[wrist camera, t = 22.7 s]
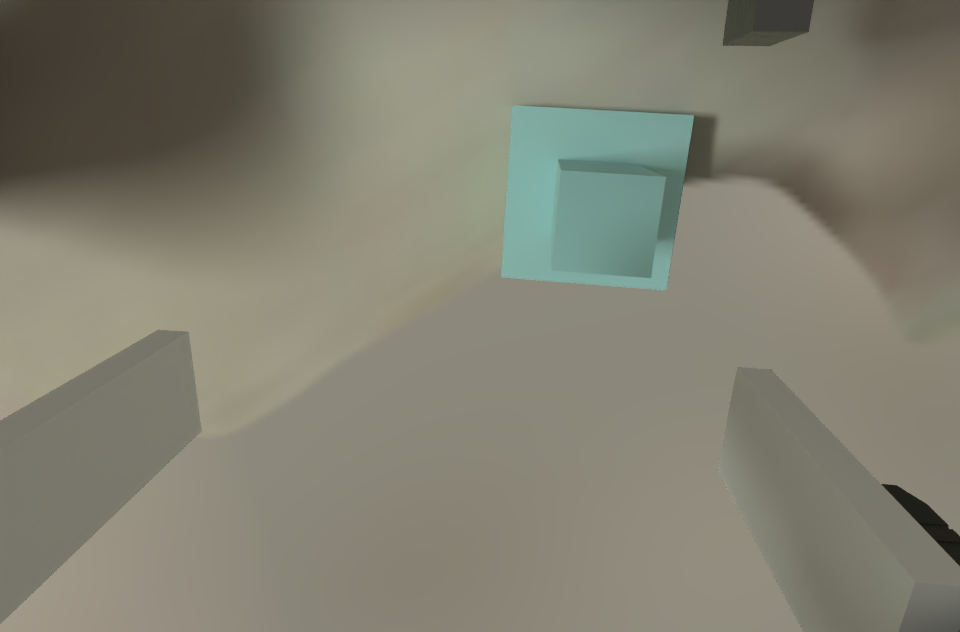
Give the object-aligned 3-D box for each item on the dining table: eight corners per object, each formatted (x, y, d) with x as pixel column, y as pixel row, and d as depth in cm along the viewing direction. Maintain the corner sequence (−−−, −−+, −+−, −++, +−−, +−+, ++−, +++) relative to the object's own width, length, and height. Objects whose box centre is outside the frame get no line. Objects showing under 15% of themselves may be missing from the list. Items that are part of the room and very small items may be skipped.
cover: (502, 270, 34) (487, 323, 25) (514, 106, 31) (501, 98, 22) (661, 283, 33) (703, 341, 24) (687, 115, 30) (746, 111, 21)
